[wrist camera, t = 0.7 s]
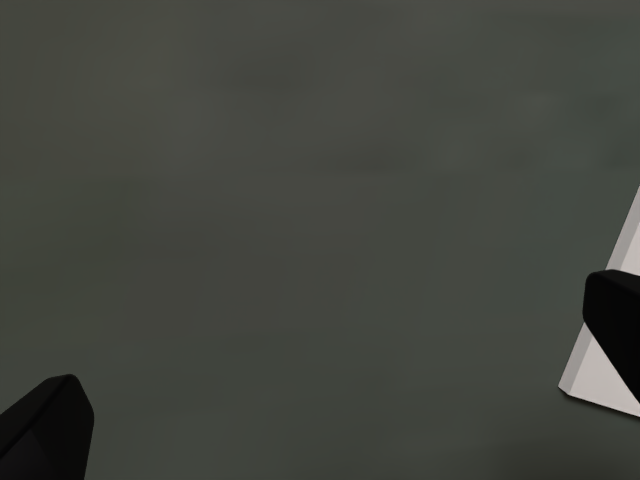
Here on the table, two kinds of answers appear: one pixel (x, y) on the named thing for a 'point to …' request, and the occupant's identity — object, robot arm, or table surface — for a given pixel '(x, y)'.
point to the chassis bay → (587, 356)
